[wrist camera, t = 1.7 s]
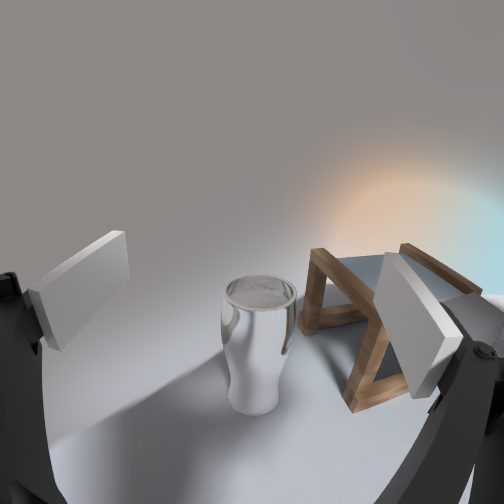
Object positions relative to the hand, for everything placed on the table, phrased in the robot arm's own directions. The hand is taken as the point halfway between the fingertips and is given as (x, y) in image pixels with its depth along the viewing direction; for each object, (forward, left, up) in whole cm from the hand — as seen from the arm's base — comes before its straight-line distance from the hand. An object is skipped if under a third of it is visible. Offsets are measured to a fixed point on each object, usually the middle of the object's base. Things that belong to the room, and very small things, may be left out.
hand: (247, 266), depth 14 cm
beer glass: (-3, -9, -22) cm, 24 cm away
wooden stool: (-23, -13, -22) cm, 34 cm away
